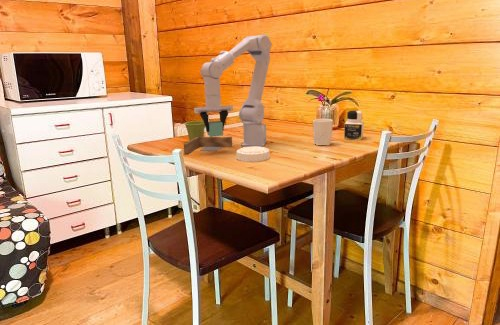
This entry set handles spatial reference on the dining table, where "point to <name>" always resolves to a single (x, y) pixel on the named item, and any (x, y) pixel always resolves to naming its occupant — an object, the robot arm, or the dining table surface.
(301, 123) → the dining table surface
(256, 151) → the white flat cylinder
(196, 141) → the brown corner wall
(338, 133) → the dining table surface
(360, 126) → the medicine bottle
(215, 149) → the mat
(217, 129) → the cube
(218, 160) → the dining table surface
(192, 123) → the plant pot
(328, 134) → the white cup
